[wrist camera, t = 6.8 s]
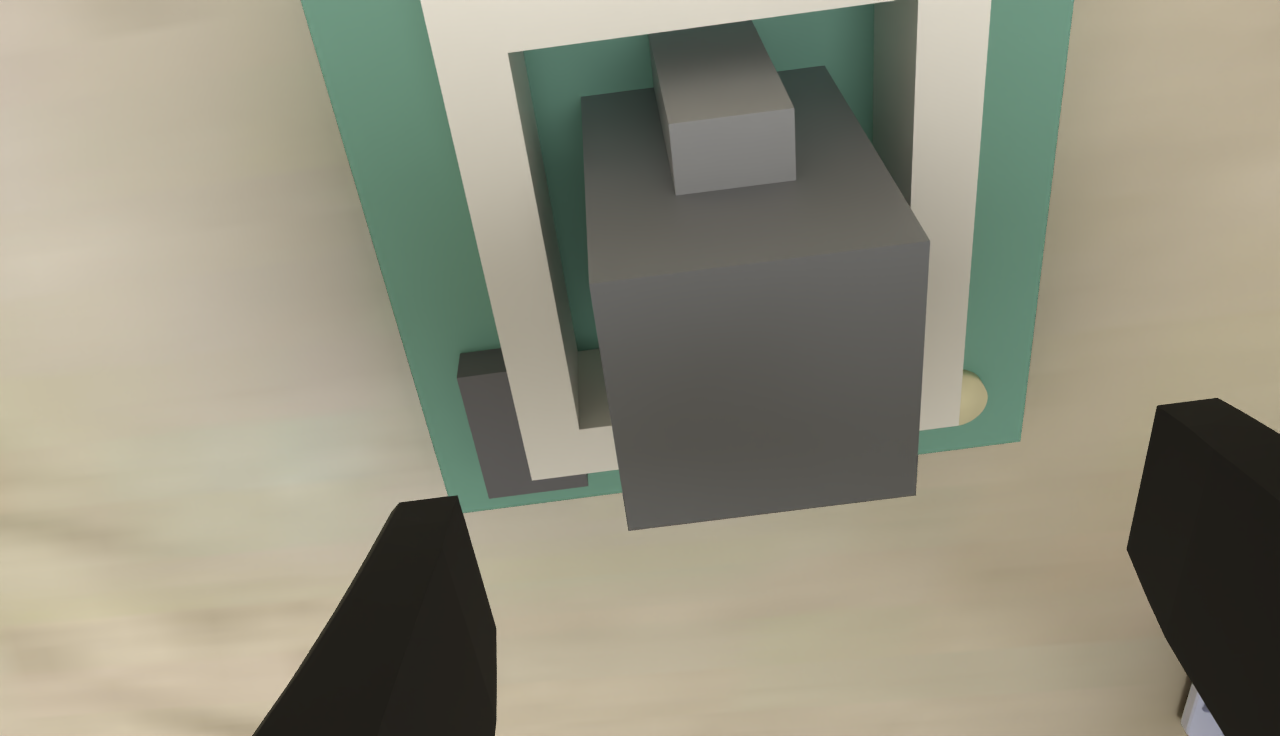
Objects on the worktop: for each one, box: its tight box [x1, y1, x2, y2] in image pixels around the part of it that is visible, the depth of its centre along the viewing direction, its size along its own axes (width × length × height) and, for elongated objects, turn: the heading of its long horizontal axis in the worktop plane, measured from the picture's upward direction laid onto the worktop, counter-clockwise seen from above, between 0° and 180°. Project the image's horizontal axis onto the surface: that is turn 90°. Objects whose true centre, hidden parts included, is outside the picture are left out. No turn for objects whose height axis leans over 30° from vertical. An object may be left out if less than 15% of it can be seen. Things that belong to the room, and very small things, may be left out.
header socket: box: [420, 0, 991, 481], centre depth 17 cm, size 9×8×2 cm
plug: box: [581, 20, 930, 531], centre depth 16 cm, size 5×4×6 cm
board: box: [301, 0, 1074, 513], centre depth 18 cm, size 14×12×2 cm
